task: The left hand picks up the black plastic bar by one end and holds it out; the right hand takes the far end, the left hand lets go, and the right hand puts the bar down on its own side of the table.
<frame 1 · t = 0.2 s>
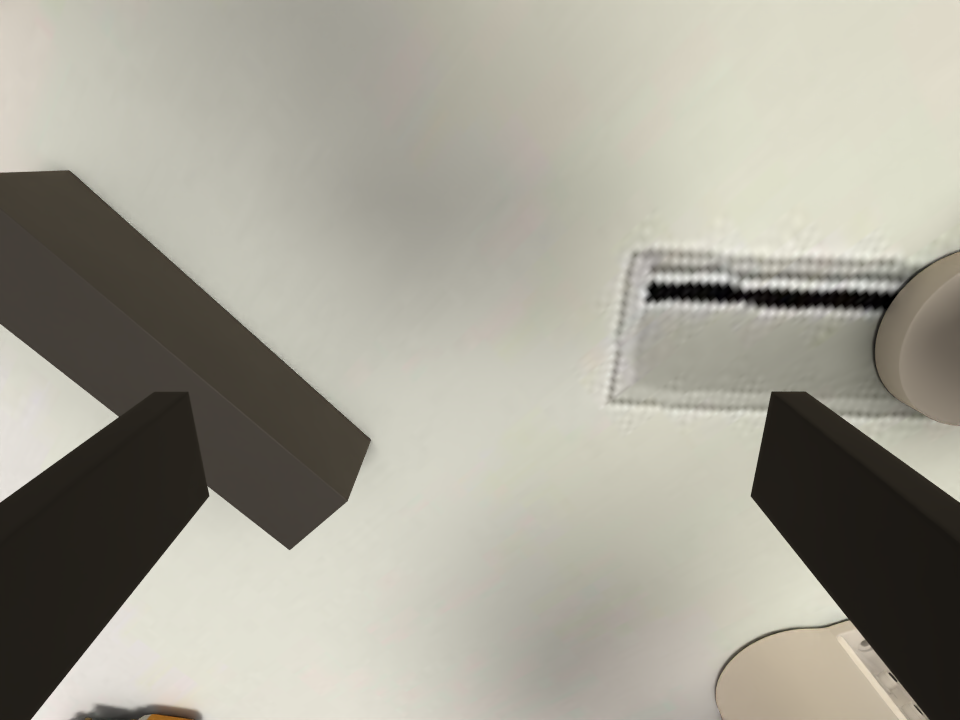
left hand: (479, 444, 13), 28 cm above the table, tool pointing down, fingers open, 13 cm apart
bar: (208, 342, 41), on the table
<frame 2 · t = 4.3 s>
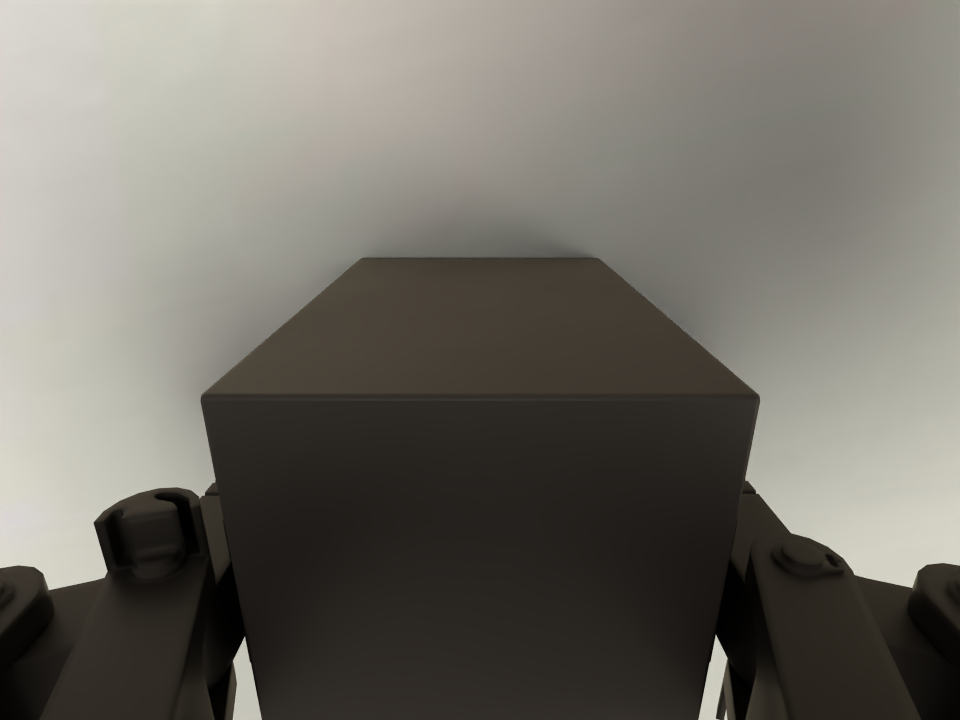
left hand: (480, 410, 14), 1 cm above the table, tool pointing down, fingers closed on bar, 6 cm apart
bar: (480, 675, 18), on the table, touching left hand
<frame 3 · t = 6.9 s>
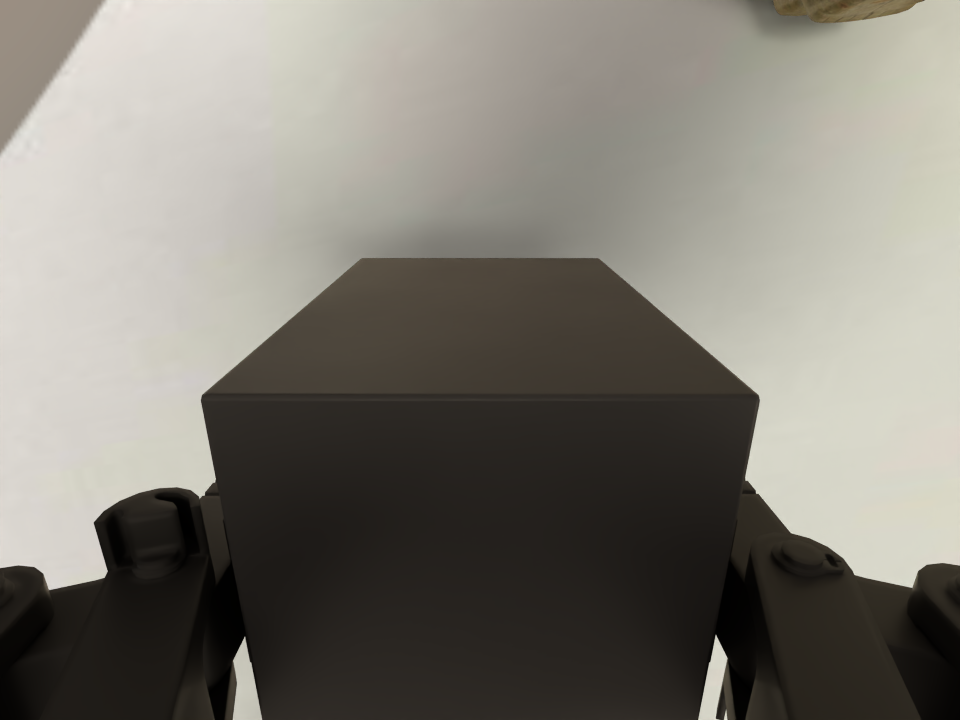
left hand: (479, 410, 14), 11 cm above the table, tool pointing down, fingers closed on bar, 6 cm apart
bar: (480, 675, 18), point 11 cm above the table, touching left hand
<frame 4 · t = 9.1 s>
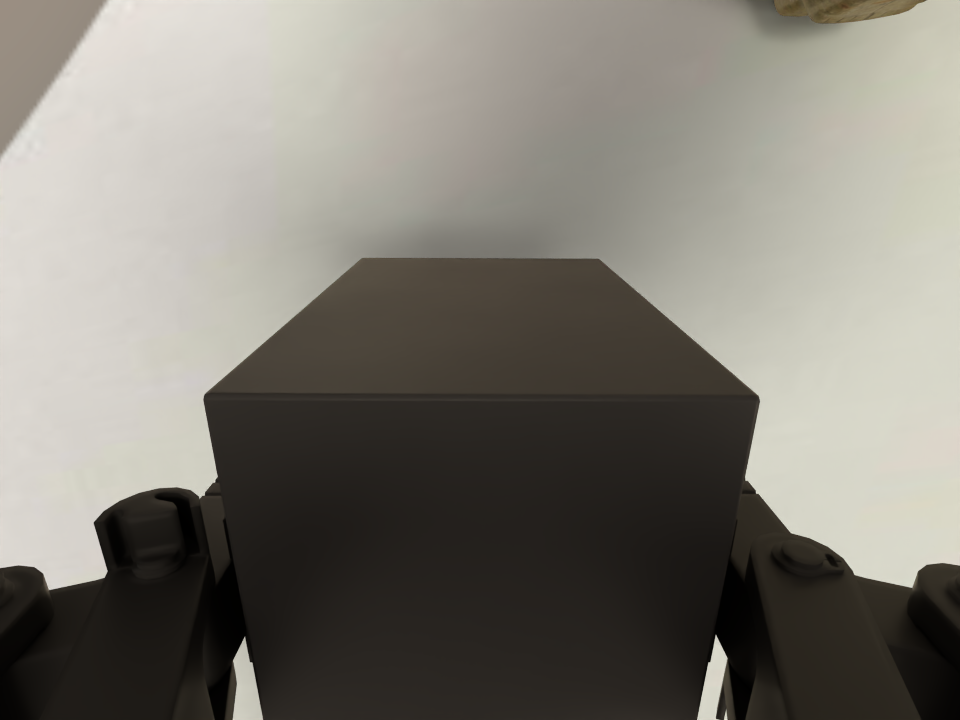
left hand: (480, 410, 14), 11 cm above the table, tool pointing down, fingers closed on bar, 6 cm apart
bar: (478, 675, 18), point 11 cm above the table, touching left hand, right hand
when the left hand's fingers open (11 cm above the table, at t = 10.0 s): bar stays where it is, held by the right hand.
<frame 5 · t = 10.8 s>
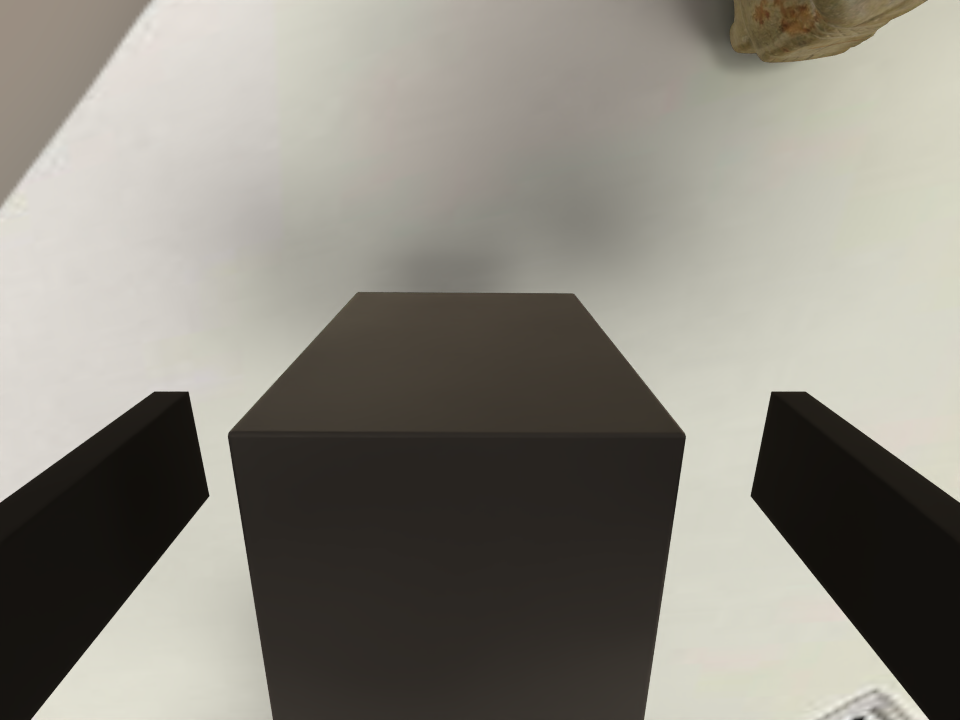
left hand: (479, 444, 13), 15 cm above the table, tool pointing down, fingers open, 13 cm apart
bar: (465, 679, 19), point 12 cm above the table, touching right hand
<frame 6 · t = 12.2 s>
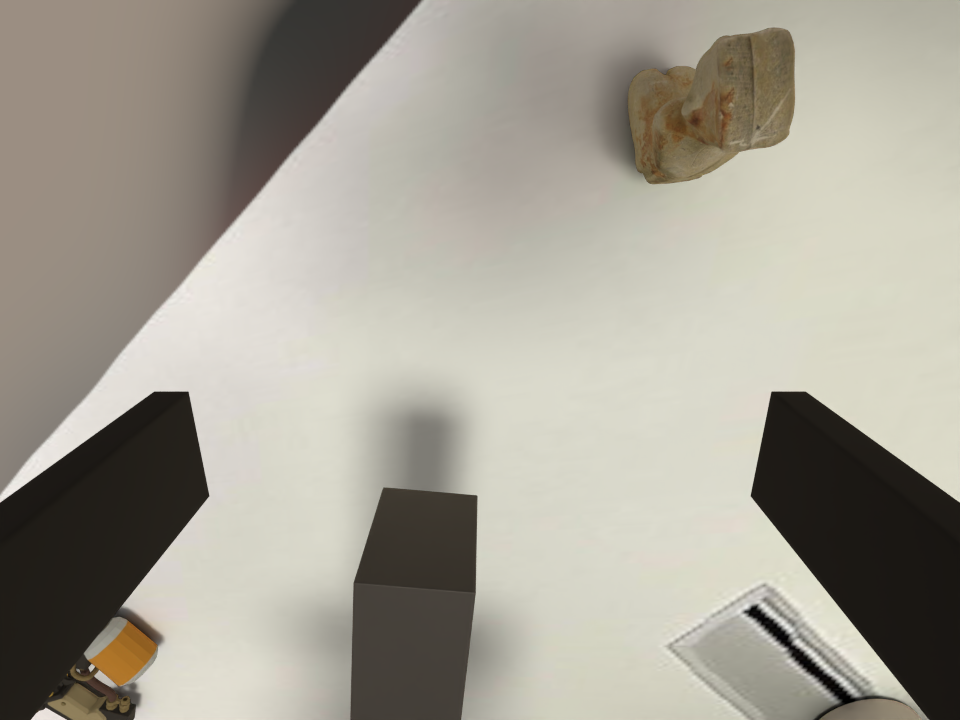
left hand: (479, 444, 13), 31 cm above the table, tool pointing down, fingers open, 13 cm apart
spray gun: (88, 648, 56), on the table
bust sculpture: (889, 718, 59), on the table
sculpture: (656, 127, 39), on the table
bar: (417, 660, 39), point 13 cm above the table, touching right hand
when the right hand's fingers open (4 cm above the table, at t = 15.6 s): bar stays where it is, on the table.
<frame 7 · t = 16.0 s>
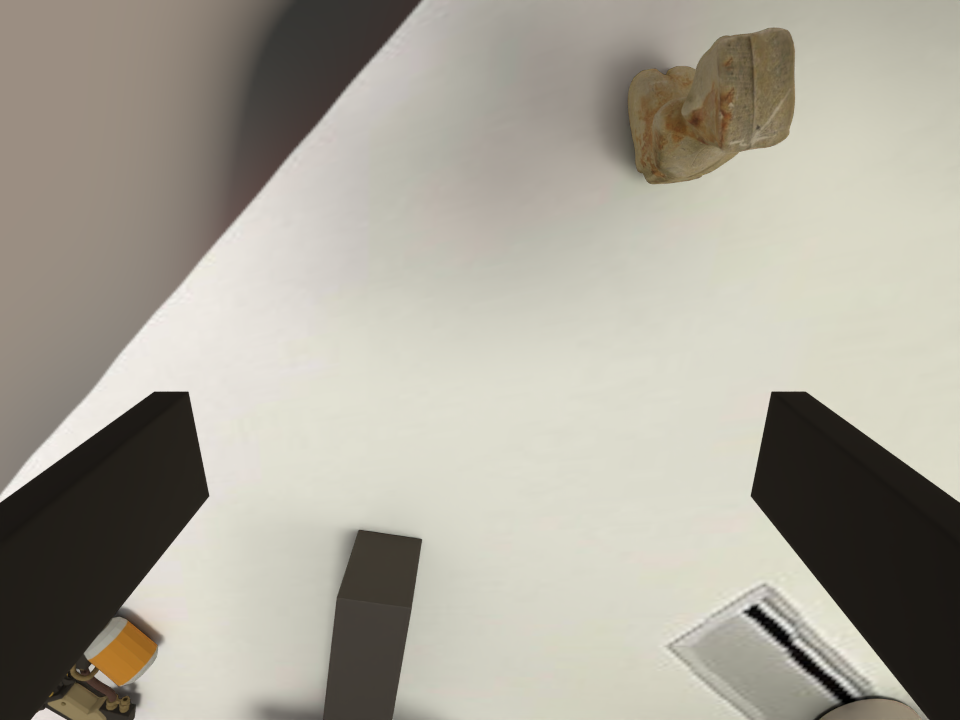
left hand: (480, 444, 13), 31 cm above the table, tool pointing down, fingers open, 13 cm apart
spray gun: (88, 648, 56), on the table
bust sculpture: (889, 718, 59), on the table
sculpture: (656, 127, 39), on the table
bar: (373, 646, 55), on the table
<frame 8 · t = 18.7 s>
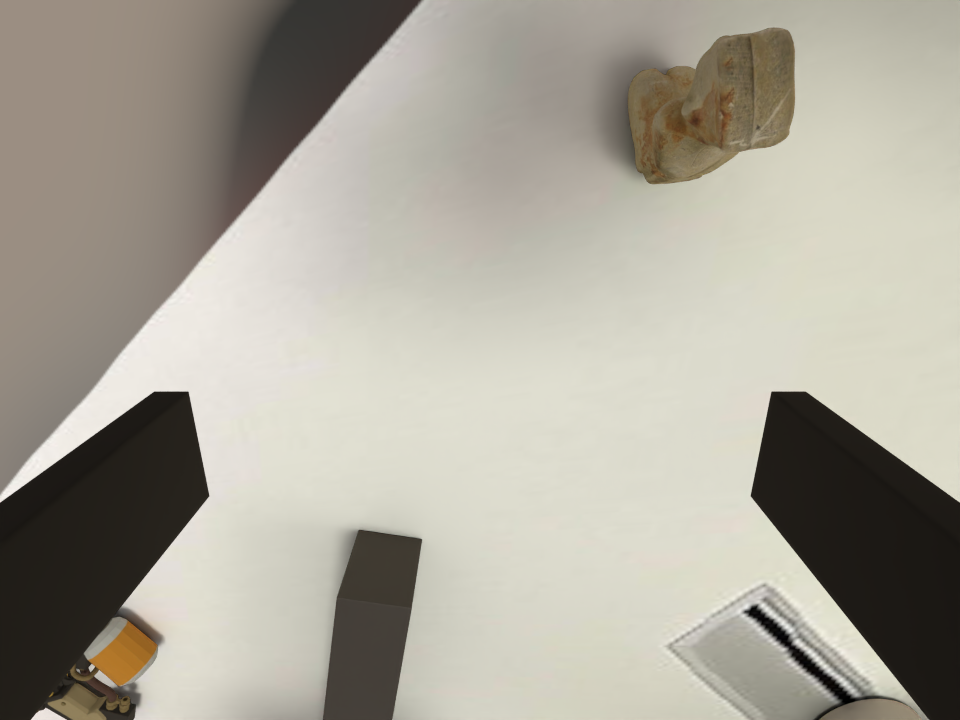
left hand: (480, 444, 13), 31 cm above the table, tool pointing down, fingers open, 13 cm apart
spray gun: (88, 648, 56), on the table
bust sculpture: (889, 718, 59), on the table
sculpture: (656, 127, 39), on the table
bar: (373, 646, 55), on the table
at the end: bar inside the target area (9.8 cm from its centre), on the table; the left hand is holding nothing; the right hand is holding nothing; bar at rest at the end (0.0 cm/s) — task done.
